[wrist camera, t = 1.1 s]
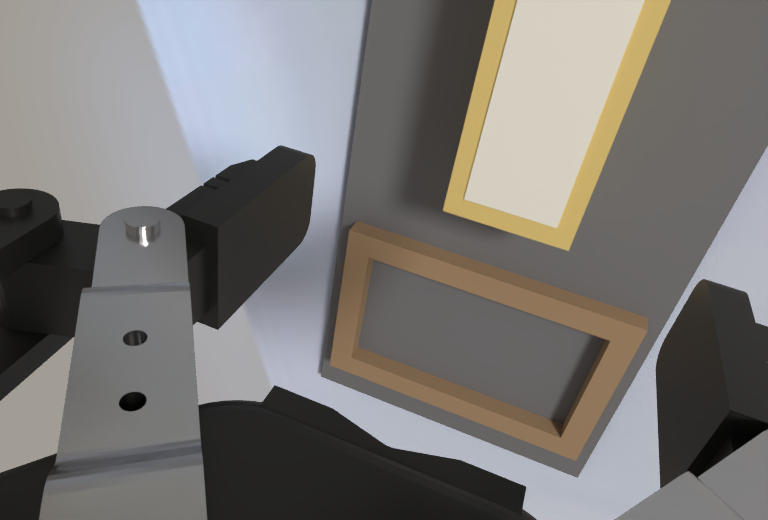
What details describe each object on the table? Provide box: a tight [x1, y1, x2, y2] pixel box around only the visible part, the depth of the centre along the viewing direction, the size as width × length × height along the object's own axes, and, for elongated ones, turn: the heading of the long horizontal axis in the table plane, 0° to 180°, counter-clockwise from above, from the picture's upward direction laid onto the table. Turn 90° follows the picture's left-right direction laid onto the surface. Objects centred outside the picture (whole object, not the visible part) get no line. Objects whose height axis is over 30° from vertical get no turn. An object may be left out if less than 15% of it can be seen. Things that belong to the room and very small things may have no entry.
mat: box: [321, 0, 768, 478], centre depth 27 cm, size 28×16×2 cm, turn 171°
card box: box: [443, 0, 671, 251], centre depth 22 cm, size 10×5×4 cm, turn 171°
